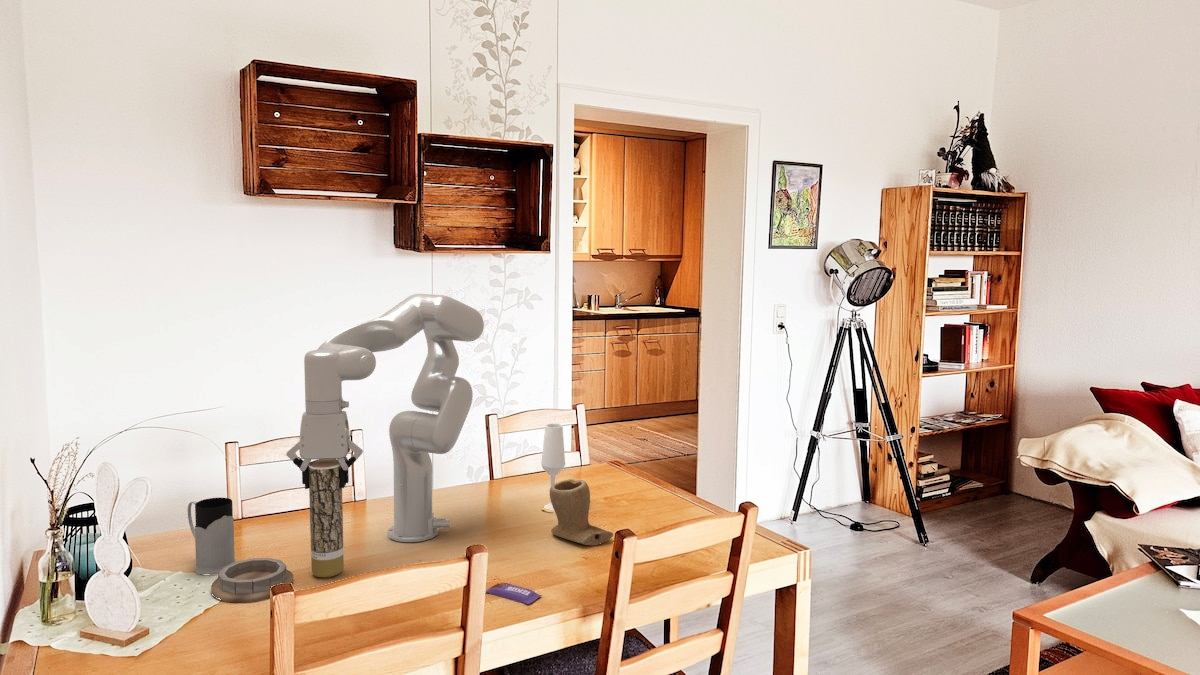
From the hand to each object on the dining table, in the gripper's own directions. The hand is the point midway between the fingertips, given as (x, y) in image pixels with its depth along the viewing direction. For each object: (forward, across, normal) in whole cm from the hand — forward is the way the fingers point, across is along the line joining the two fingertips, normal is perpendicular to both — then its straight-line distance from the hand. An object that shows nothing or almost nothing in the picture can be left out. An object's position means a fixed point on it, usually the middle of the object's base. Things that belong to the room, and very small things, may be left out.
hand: (325, 486), depth 176 cm
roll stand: (+20, +14, +6) cm, 25 cm away
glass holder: (+20, +27, -8) cm, 35 cm away
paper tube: (+20, 0, 0) cm, 20 cm away
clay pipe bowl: (+21, -58, -16) cm, 64 cm away
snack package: (+21, -40, +15) cm, 48 cm away
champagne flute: (+21, -54, -40) cm, 70 cm away
